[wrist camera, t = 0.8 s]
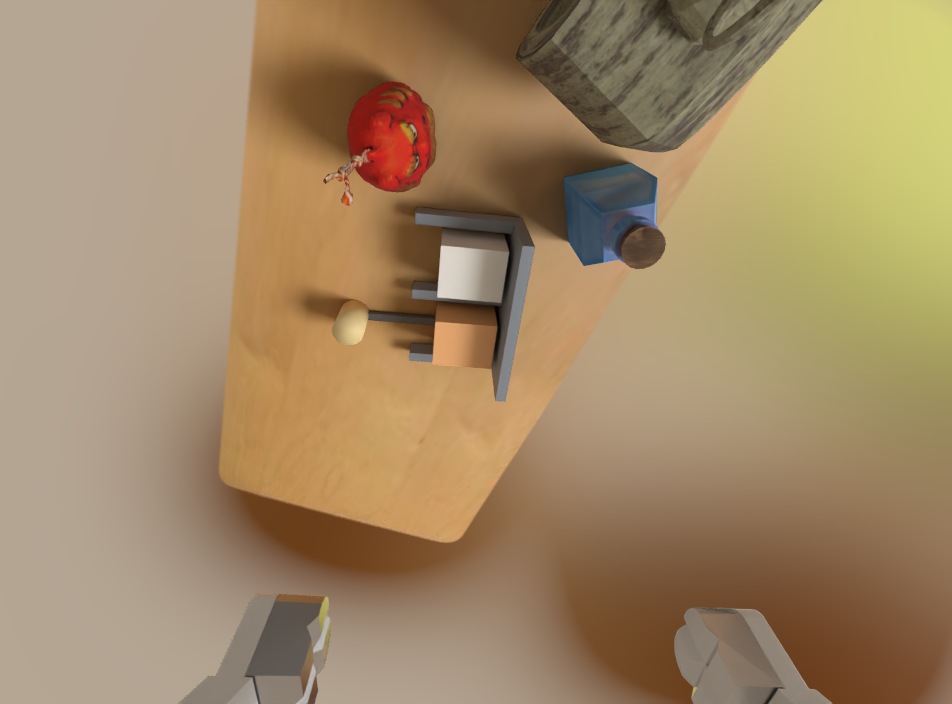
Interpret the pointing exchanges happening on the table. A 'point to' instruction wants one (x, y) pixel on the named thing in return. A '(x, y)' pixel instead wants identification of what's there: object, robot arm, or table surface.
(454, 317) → the tan block and knob
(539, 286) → the table surface
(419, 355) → the lane rack
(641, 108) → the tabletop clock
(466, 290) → the white block
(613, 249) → the perfume bottle
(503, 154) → the table surface
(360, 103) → the red clay folk toy
